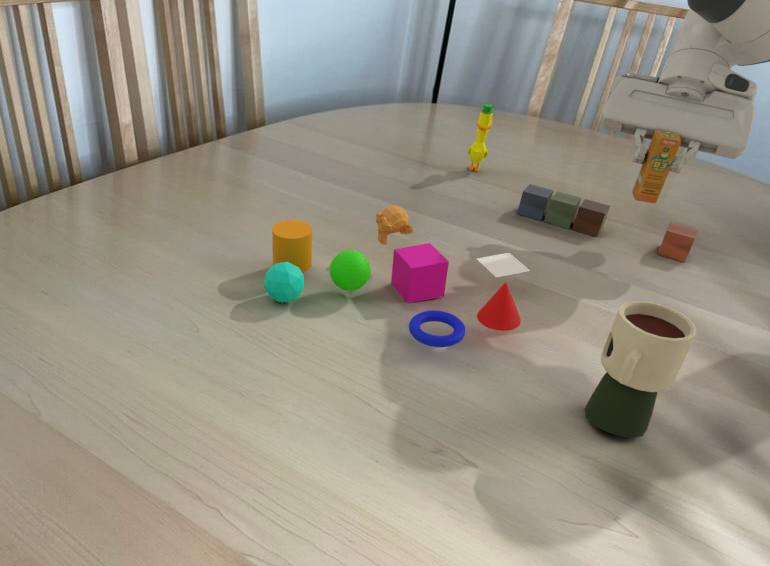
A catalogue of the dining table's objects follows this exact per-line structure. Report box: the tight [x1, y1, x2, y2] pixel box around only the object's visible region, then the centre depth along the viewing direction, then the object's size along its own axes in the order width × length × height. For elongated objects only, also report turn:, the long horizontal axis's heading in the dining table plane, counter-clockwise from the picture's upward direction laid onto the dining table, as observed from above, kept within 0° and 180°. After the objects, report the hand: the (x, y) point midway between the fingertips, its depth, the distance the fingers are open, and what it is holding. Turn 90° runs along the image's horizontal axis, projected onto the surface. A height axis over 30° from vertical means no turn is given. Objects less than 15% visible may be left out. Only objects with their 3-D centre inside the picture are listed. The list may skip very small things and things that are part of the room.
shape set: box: [263, 205, 531, 348], centre depth 94 cm, size 29×35×7 cm
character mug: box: [584, 300, 697, 439], centre depth 74 cm, size 11×7×13 cm, turn 140°
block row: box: [516, 183, 698, 263], centre depth 117 cm, size 4×26×4 cm, turn 59°
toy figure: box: [467, 103, 494, 172], centre depth 134 cm, size 7×4×12 cm, turn 161°
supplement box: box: [631, 130, 681, 204], centre depth 109 cm, size 3×3×10 cm
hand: (656, 166), depth 109 cm, fingers closed on supplement box, 4 cm apart
